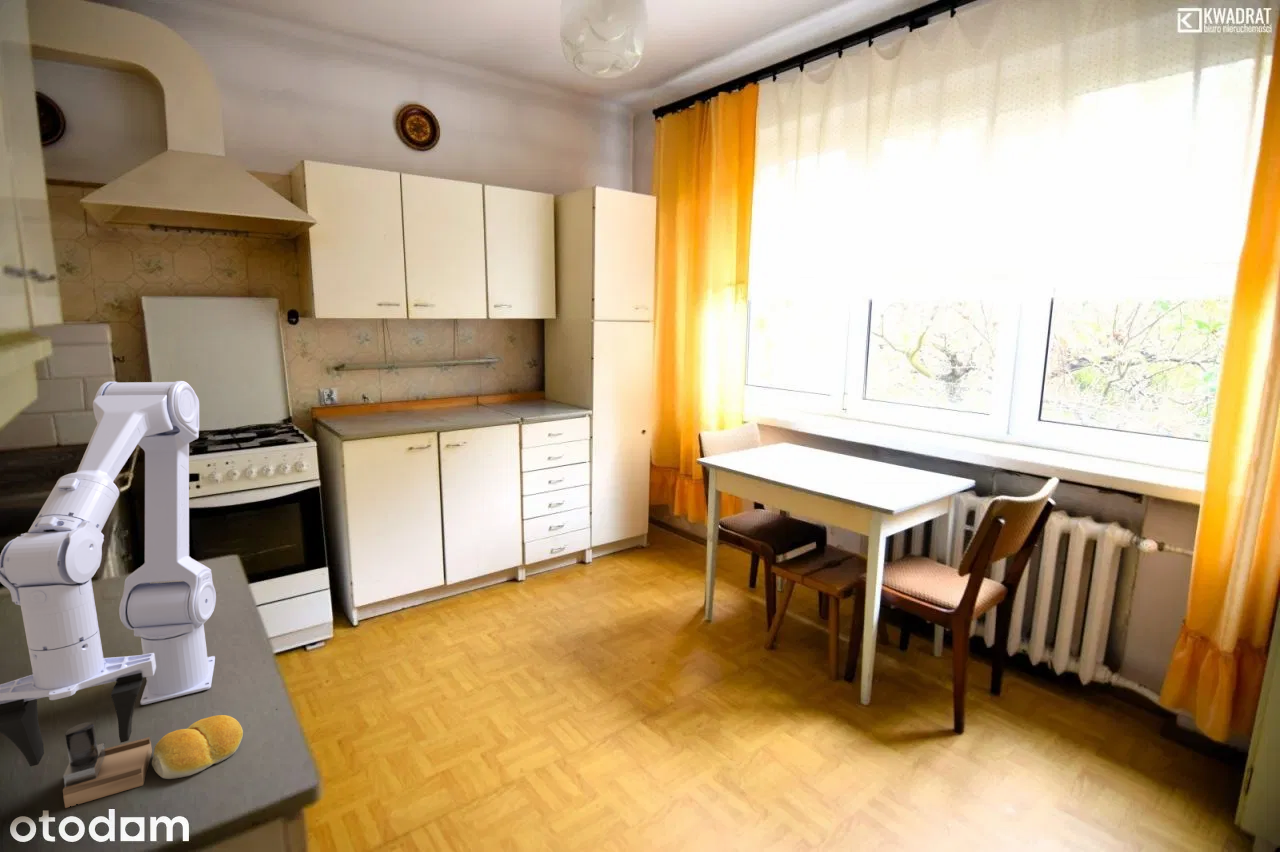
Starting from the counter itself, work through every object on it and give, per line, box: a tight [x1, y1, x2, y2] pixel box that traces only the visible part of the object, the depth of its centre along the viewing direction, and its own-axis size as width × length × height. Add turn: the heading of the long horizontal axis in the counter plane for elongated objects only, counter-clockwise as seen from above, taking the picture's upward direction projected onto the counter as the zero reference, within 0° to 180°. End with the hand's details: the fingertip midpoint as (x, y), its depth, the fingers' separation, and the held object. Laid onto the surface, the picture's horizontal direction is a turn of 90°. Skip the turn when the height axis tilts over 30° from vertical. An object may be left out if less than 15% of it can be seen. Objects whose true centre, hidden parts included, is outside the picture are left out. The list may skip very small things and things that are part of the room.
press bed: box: [62, 736, 153, 809], centre depth 71 cm, size 6×7×2 cm
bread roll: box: [151, 714, 244, 780], centre depth 76 cm, size 8×9×4 cm
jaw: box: [63, 722, 106, 787], centre depth 70 cm, size 5×3×5 cm, turn 31°
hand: (82, 748), depth 70 cm, fingers open, 7 cm apart
